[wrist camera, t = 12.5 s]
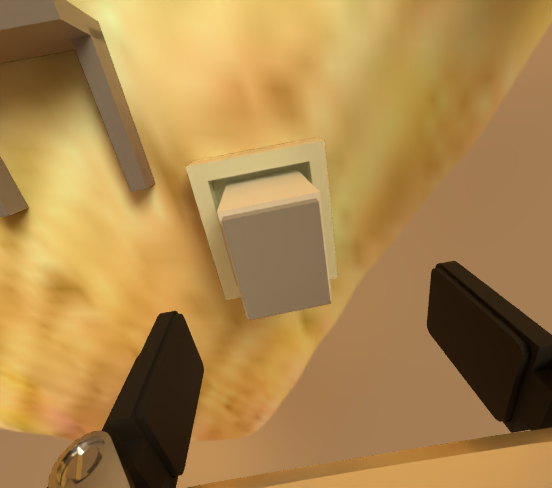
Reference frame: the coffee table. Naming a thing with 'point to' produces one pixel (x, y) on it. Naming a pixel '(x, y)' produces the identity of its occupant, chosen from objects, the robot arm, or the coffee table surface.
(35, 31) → the bay
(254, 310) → the capped cream block
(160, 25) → the coffee table surface
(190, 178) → the tray
